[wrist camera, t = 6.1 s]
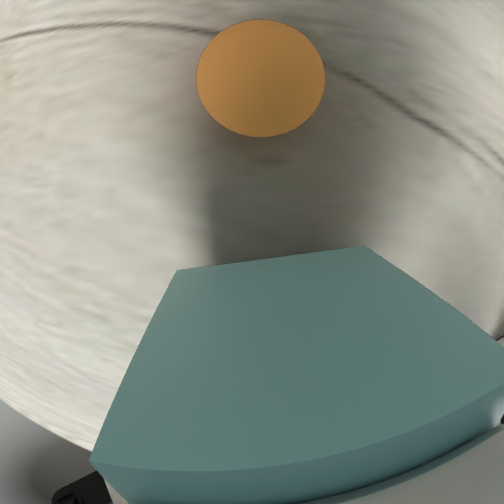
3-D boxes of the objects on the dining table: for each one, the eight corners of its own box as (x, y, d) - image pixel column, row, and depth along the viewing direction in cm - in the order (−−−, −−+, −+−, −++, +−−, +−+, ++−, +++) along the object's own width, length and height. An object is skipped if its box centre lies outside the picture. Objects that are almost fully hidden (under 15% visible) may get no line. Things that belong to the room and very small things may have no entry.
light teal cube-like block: (364, 245, 12) (527, 366, 3) (356, 384, 14) (422, 518, 5) (176, 270, 11) (88, 460, 3) (211, 407, 14) (205, 562, 5)
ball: (300, 46, 12) (328, -2, 7) (314, 138, 13) (353, 125, 8) (199, 54, 12) (182, 5, 7) (209, 149, 13) (194, 138, 8)
